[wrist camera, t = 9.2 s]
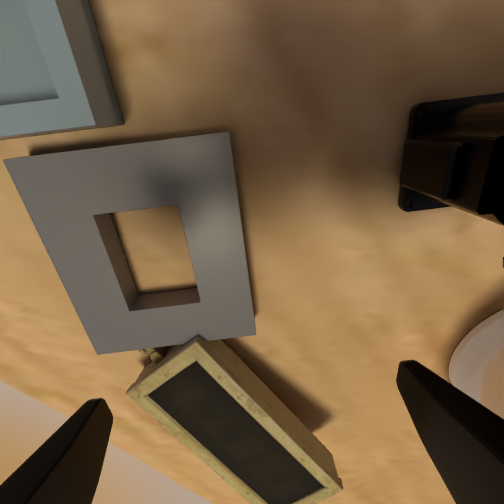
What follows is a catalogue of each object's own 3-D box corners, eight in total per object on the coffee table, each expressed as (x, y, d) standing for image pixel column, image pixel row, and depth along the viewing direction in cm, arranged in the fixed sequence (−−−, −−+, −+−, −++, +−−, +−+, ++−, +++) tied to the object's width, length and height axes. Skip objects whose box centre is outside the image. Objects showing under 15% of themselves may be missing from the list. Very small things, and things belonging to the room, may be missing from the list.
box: (274, 470, 29) (276, 528, 25) (119, 331, 25) (84, 369, 20) (337, 435, 27) (352, 491, 23) (179, 278, 23) (157, 306, 19)
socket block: (229, 131, 16) (228, 131, 14) (254, 317, 22) (256, 334, 20) (28, 155, 16) (2, 159, 14) (108, 335, 22) (97, 354, 20)
